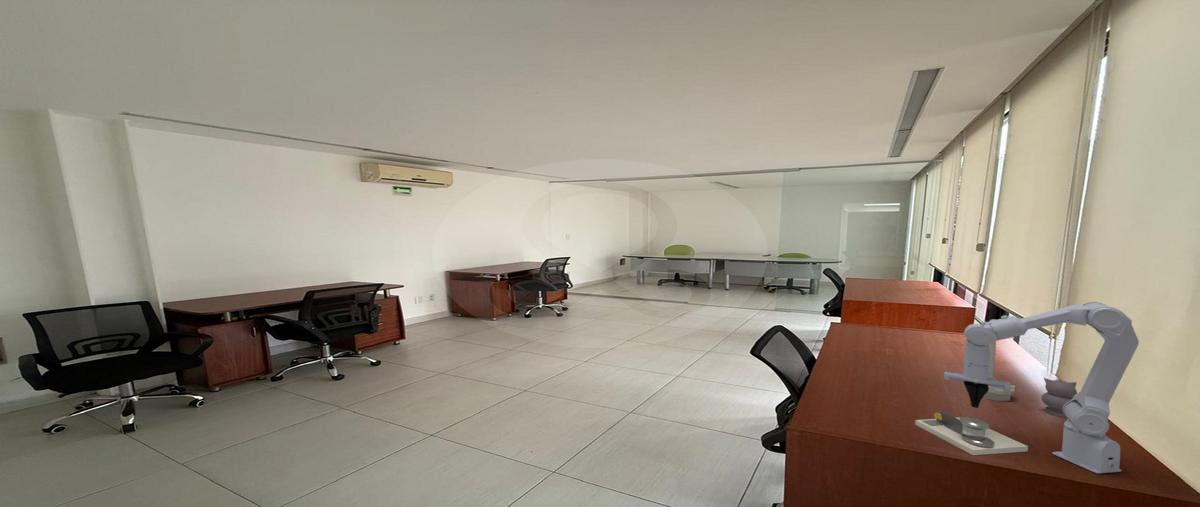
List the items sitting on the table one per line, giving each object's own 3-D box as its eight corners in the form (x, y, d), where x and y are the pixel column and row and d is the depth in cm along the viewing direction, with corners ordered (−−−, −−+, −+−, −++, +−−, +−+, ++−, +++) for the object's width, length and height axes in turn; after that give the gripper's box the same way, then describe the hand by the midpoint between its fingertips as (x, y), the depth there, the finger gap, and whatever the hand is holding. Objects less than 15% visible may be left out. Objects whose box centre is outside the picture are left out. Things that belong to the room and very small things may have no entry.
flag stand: (978, 386, 161) (982, 314, 160) (1021, 399, 149) (1026, 321, 148) (959, 391, 157) (963, 317, 155) (1002, 404, 144) (1007, 324, 143)
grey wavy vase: (1044, 415, 136) (1046, 381, 135) (1037, 407, 142) (1039, 374, 142) (1082, 422, 131) (1084, 387, 130) (1072, 413, 137) (1075, 379, 137)
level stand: (1027, 451, 113) (1028, 445, 113) (973, 455, 111) (973, 449, 111) (963, 421, 131) (963, 416, 131) (915, 424, 129) (915, 419, 129)
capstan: (1001, 446, 112) (1002, 429, 112) (978, 447, 112) (979, 430, 112) (945, 419, 129) (946, 403, 129) (925, 420, 128) (926, 404, 128)
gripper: (1006, 364, 120) (1003, 407, 121) (943, 355, 128) (941, 396, 129) (1012, 371, 114) (1010, 416, 115) (946, 361, 122) (944, 404, 123)
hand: (974, 406), depth 121 cm, fingers closed
